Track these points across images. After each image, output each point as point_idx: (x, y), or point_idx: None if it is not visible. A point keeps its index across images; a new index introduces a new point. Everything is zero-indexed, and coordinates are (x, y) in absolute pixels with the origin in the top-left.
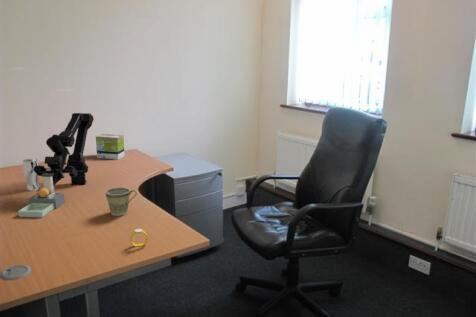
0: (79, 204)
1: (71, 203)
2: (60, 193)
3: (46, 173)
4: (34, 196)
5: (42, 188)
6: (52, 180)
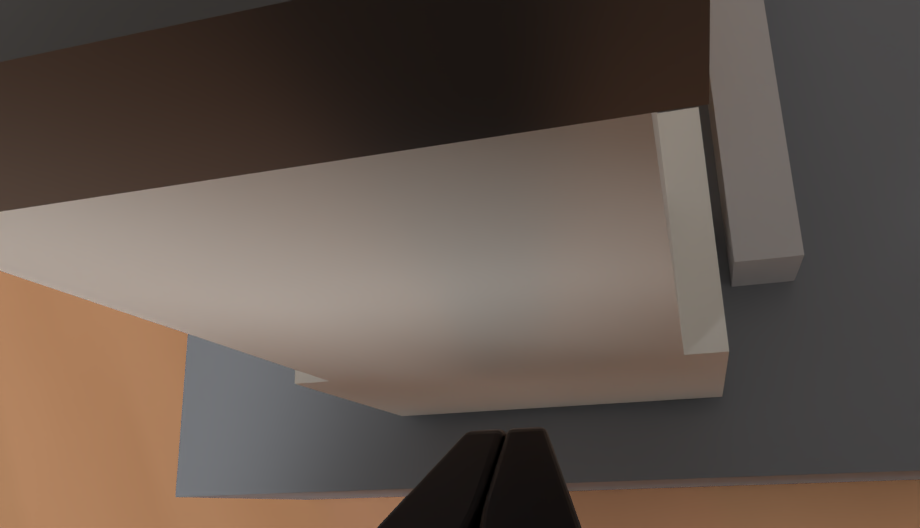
0: (19, 434)
1: (168, 469)
2: (260, 463)
3: (235, 16)
4: (888, 68)
5: (672, 126)
6: (165, 310)
